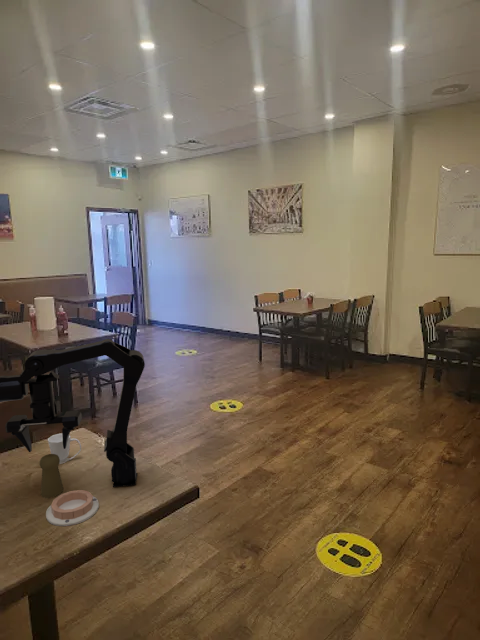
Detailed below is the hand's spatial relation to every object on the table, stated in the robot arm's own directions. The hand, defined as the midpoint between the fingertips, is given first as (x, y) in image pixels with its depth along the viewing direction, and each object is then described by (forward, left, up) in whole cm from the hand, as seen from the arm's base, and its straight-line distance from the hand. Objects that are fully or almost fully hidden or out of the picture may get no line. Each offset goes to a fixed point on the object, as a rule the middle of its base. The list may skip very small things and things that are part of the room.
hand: (47, 449), depth 122 cm
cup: (+1, -19, -13) cm, 23 cm away
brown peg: (0, 0, -13) cm, 13 cm away
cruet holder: (-8, +10, -13) cm, 18 cm away
